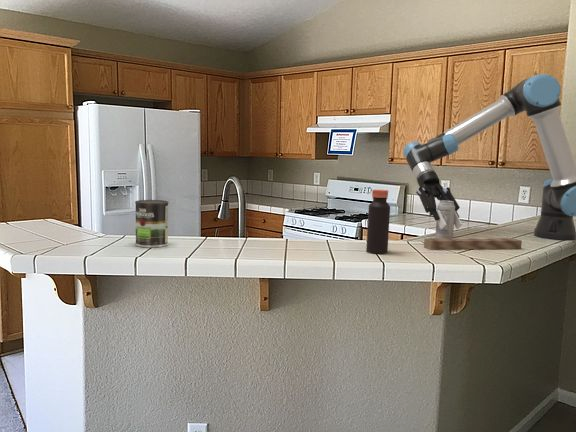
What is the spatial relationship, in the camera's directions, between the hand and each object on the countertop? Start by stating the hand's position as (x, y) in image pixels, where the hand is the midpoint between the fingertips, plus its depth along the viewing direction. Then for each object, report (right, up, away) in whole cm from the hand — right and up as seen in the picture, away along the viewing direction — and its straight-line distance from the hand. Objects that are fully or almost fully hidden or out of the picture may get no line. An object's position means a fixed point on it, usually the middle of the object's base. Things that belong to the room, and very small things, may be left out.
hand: (451, 226), depth 179 cm
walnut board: (+7, -7, -2) cm, 10 cm away
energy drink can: (-2, -6, +4) cm, 7 cm away
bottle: (-29, -8, -14) cm, 33 cm away
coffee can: (-101, -6, -13) cm, 102 cm away
